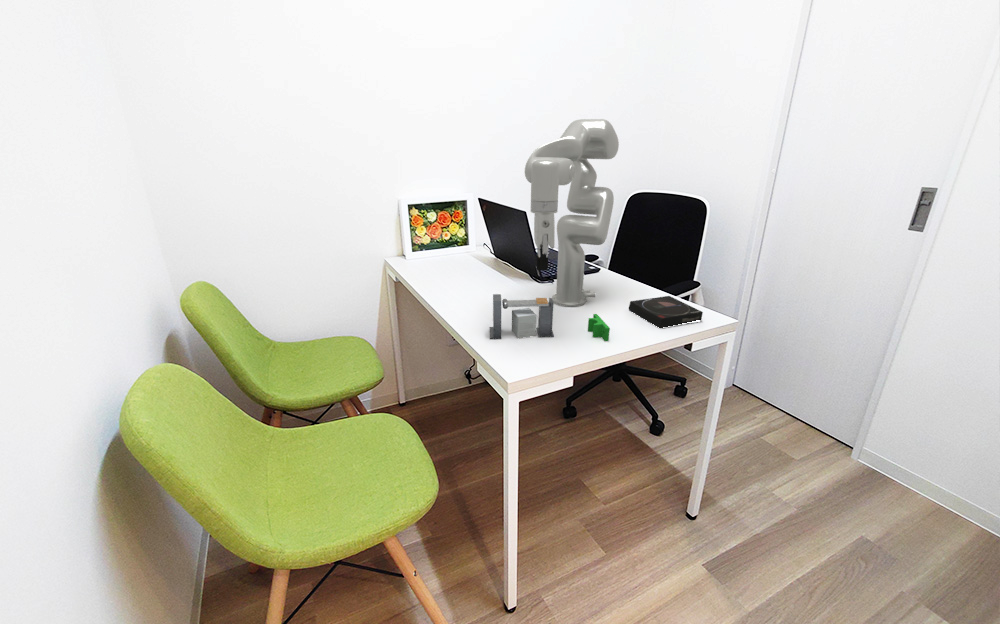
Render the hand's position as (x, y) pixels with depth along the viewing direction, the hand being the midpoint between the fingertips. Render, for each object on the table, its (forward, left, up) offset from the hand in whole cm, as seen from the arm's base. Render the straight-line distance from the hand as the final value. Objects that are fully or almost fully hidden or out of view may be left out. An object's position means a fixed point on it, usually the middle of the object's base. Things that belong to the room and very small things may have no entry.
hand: (542, 269), depth 131 cm
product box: (+5, 0, -21) cm, 22 cm away
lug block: (-1, 0, -21) cm, 21 cm away
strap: (+5, 0, -11) cm, 12 cm away
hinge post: (+13, 0, -21) cm, 25 cm away
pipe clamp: (-18, +1, -21) cm, 27 cm away
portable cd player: (-44, -13, -21) cm, 50 cm away
